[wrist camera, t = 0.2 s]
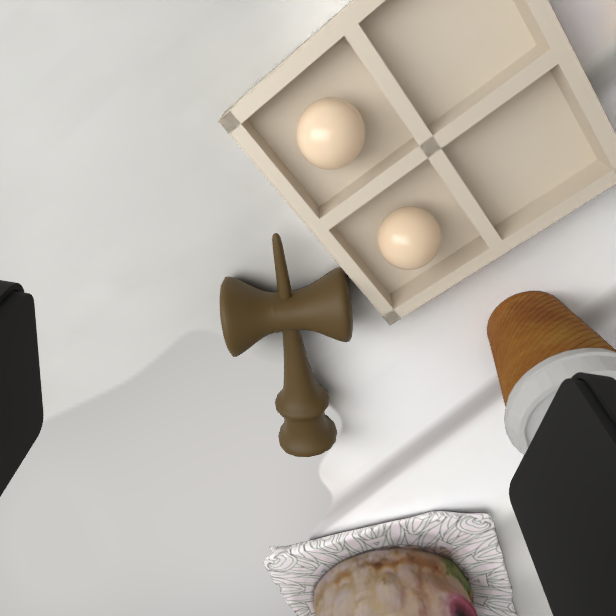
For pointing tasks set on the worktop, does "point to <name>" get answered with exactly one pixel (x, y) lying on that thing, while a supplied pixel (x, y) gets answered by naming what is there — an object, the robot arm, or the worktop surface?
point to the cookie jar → (398, 569)
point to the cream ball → (330, 133)
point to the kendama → (291, 344)
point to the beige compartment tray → (434, 134)
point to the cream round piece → (409, 238)
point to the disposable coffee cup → (540, 357)
